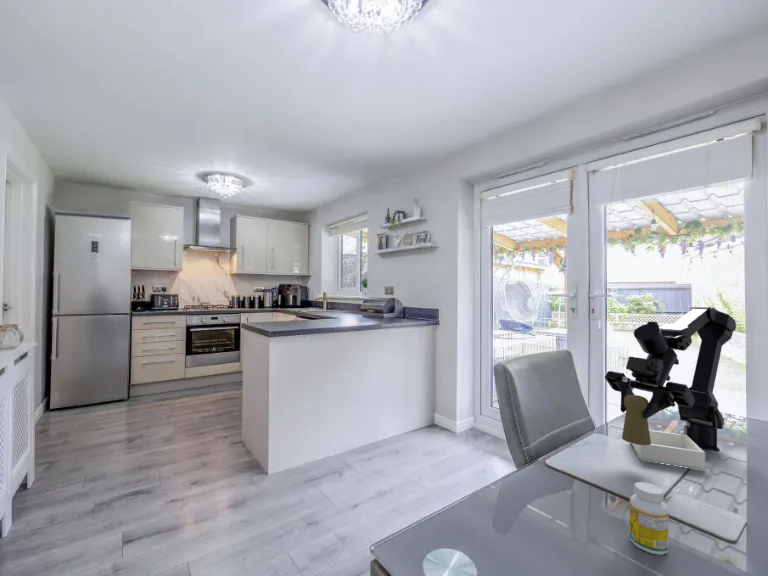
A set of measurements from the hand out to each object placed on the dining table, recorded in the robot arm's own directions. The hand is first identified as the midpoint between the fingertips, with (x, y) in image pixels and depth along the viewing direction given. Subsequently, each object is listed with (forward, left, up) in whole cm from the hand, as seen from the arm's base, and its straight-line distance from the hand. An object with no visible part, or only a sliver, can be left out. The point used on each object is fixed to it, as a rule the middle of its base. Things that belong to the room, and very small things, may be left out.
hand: (632, 414), depth 93 cm
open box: (-9, -12, -13) cm, 20 cm away
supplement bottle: (+4, +34, -13) cm, 36 cm away
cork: (-1, -1, -7) cm, 7 cm away
